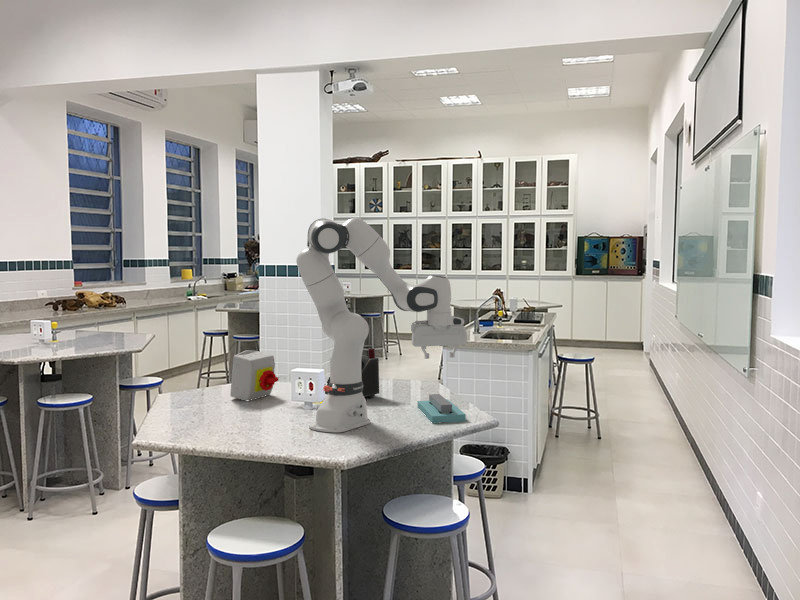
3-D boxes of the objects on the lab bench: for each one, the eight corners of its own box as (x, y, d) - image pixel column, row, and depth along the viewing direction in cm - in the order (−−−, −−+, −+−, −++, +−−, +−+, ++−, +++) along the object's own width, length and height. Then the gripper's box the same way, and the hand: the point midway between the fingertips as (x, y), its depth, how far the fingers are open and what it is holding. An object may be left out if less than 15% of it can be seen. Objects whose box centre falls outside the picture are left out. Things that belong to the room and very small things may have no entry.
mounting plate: (465, 421, 222) (465, 414, 222) (432, 423, 220) (432, 416, 220) (447, 405, 246) (447, 399, 246) (417, 407, 244) (417, 401, 243)
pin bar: (452, 419, 224) (451, 404, 224) (441, 420, 224) (440, 405, 223) (439, 408, 242) (439, 393, 242) (429, 408, 241) (429, 394, 241)
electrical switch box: (256, 408, 256) (260, 360, 254) (229, 399, 264) (233, 352, 261) (280, 401, 269) (284, 355, 266) (254, 392, 276) (258, 347, 274)
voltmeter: (324, 397, 265) (323, 349, 264) (355, 391, 276) (354, 345, 275) (348, 403, 253) (346, 353, 252) (379, 396, 264) (378, 349, 263)
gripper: (412, 321, 226) (413, 360, 226) (468, 319, 229) (468, 357, 230) (409, 320, 232) (409, 357, 233) (463, 318, 235) (463, 355, 236)
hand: (439, 357), depth 231 cm, fingers open, 8 cm apart
